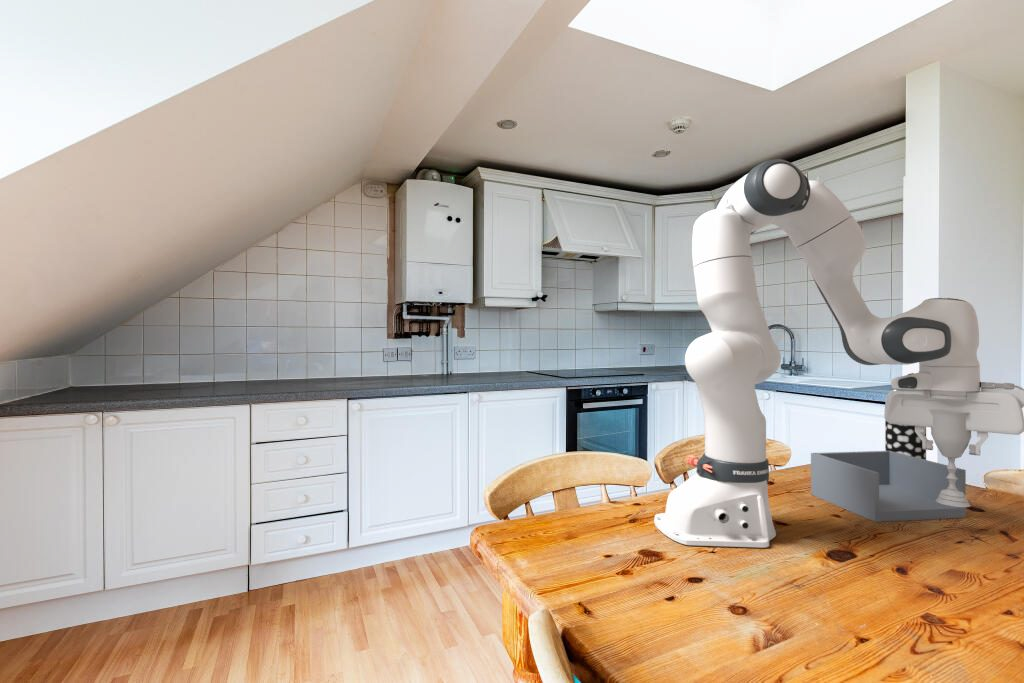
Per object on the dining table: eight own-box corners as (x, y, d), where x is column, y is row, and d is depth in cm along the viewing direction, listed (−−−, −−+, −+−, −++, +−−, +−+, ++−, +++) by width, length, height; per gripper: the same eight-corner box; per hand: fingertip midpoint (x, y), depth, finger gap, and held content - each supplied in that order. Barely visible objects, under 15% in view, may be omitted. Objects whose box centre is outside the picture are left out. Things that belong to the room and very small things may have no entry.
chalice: (974, 511, 89) (971, 413, 89) (926, 503, 94) (924, 410, 94) (978, 502, 94) (975, 410, 94) (932, 495, 99) (930, 407, 99)
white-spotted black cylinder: (935, 487, 122) (935, 408, 122) (901, 487, 122) (901, 408, 122) (908, 478, 131) (908, 404, 131) (877, 478, 131) (877, 404, 131)
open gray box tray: (874, 521, 99) (874, 473, 99) (810, 494, 117) (810, 453, 117) (965, 517, 101) (965, 469, 101) (889, 491, 119) (889, 450, 119)
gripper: (1026, 382, 89) (1028, 457, 89) (888, 378, 104) (889, 442, 104) (1026, 384, 85) (1028, 463, 84) (881, 379, 100) (883, 446, 100)
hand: (950, 452), depth 94 cm, fingers closed on chalice, 5 cm apart
